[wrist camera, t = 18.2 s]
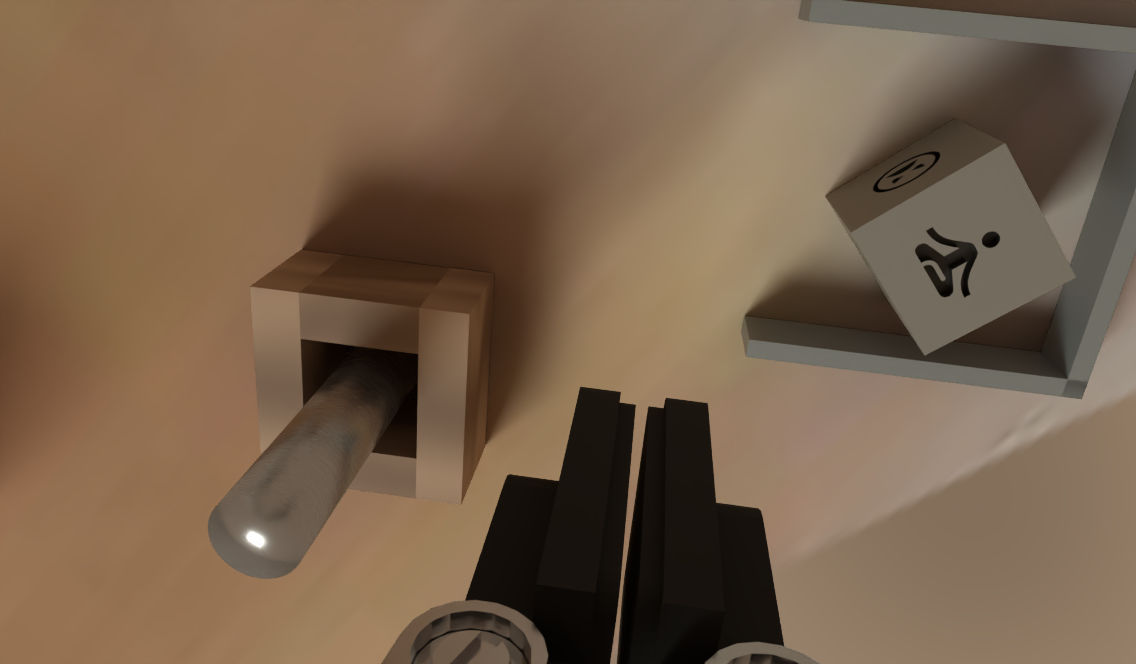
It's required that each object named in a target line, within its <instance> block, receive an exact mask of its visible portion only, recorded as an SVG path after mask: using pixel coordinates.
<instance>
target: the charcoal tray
mask: <svg viewBox="0 0 1136 664" xmlns="http://www.w3.org/2000/svg"><path fill="white" fill-rule="evenodd" d="M799 19H802V20H805V21H809V22H819V23H829V24H840V25H850V26H861V27H871V28H881V29H892V30H902V31H912V32H923V33H933V34H944V35H954V36H964V37H975V38H985V39H995V40H1006V41H1016V42H1027V43H1037V44H1047V45H1058V46H1068V47H1078V48H1089V49H1099V50H1110V51H1120V52H1130V53H1136V28H1132V27H1122V26H1111V25H1101V24H1090V23H1079V22H1069V21H1058V20H1047V19H1037V18H1026V17H1016V16H1005V15H994V14H984V13H973V12H963V11H952V10H941V9H931V8H920V7H910V6H899V5H888V4H878V3H867V2H856V1H846V0H802V1H801V7H800V12H799ZM1135 252H1136V72H1135V75H1134V78H1133V81H1132V84H1131V87H1130V90H1129V93H1128V96H1127V99H1126V102H1125V105H1124V108H1123V111H1122V113H1121V116H1120V119H1119V122H1118V125H1117V128H1116V131H1115V134H1114V137H1113V140H1112V143H1111V146H1110V149H1109V152H1108V155H1107V158H1106V161H1105V164H1104V167H1103V170H1102V173H1101V176H1100V179H1099V182H1098V185H1097V188H1096V191H1095V194H1094V196H1093V199H1092V202H1091V205H1090V208H1089V211H1088V214H1087V217H1086V220H1085V223H1084V226H1083V229H1082V232H1081V235H1080V238H1079V241H1078V244H1077V247H1076V250H1075V253H1074V256H1073V259H1072V262H1071V265H1070V267H1071V269H1072V271H1073V273H1074V274H1075V276H1076V278H1074V279H1072V280H1070V281H1068V282H1066V283H1064V285H1063V288H1062V291H1061V294H1060V297H1059V300H1058V303H1057V306H1056V309H1055V312H1054V315H1053V318H1052V321H1051V324H1050V327H1049V330H1048V333H1047V336H1046V339H1045V342H1044V345H1043V348H1042V351H1041V352H1036V351H1028V350H1020V349H1012V348H1003V347H995V346H987V345H979V344H971V343H963V342H955V341H952V342H950V343H948V344H946V345H944V346H942V347H940V348H938V349H936V350H935V351H933V352H931V353H929V354H927V355H924V354H923V352H922V351H921V349H920V348H919V346H918V345H917V343H916V342H915V340H914V339H913V337H912V336H906V335H897V334H889V333H881V332H873V331H865V330H857V329H849V328H840V327H832V326H824V325H816V324H808V323H800V322H791V321H783V320H775V319H767V318H759V317H751V316H744V320H743V326H742V331H741V333H742V338H743V343H744V349H745V354H746V357H751V358H759V359H767V360H775V361H783V362H791V363H799V364H807V365H815V366H823V367H831V368H839V369H847V370H854V371H862V372H870V373H878V374H886V375H894V376H902V377H910V378H918V379H926V380H934V381H942V382H949V383H957V384H965V385H973V386H981V387H989V388H997V389H1005V390H1013V391H1021V392H1029V393H1037V394H1045V395H1052V396H1060V397H1068V398H1076V399H1082V397H1083V394H1084V391H1085V389H1086V386H1087V383H1088V380H1089V378H1090V375H1091V372H1092V370H1093V367H1094V364H1095V361H1096V359H1097V356H1098V353H1099V351H1100V348H1101V345H1102V342H1103V340H1104V337H1105V334H1106V331H1107V329H1108V326H1109V323H1110V321H1111V318H1112V315H1113V312H1114V310H1115V307H1116V304H1117V301H1118V299H1119V296H1120V293H1121V291H1122V288H1123V285H1124V282H1125V280H1126V277H1127V274H1128V271H1129V269H1130V266H1131V263H1132V261H1133V258H1134V255H1135Z"/></svg>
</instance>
